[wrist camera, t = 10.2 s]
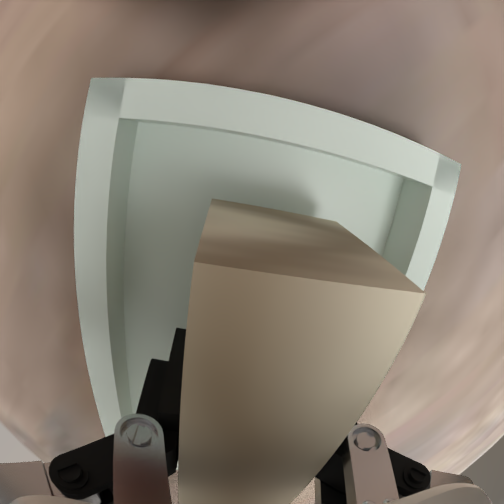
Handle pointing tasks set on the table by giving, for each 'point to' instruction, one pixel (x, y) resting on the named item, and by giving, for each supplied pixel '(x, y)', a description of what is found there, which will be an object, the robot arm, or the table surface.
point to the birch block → (281, 350)
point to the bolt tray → (223, 188)
